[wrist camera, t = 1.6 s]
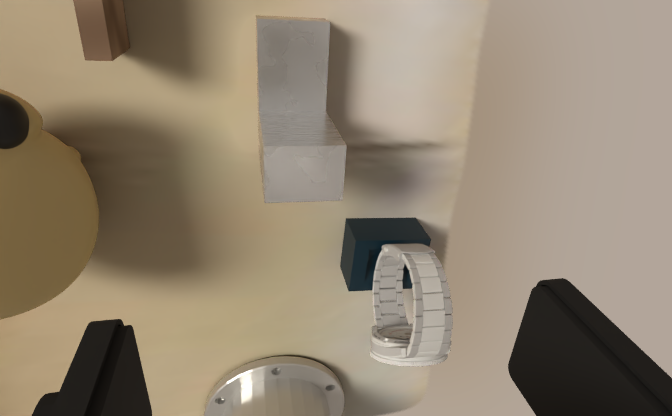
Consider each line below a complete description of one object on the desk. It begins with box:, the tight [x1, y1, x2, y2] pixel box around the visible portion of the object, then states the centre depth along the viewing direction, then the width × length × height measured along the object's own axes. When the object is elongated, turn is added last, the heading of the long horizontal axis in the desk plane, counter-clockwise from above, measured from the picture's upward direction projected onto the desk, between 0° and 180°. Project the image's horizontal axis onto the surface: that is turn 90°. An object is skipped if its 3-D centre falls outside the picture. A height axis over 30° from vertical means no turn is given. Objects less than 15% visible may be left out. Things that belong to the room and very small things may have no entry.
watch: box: [340, 218, 453, 367], centre depth 30 cm, size 6×8×11 cm
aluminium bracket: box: [256, 15, 347, 203], centre depth 24 cm, size 8×4×8 cm, turn 177°
